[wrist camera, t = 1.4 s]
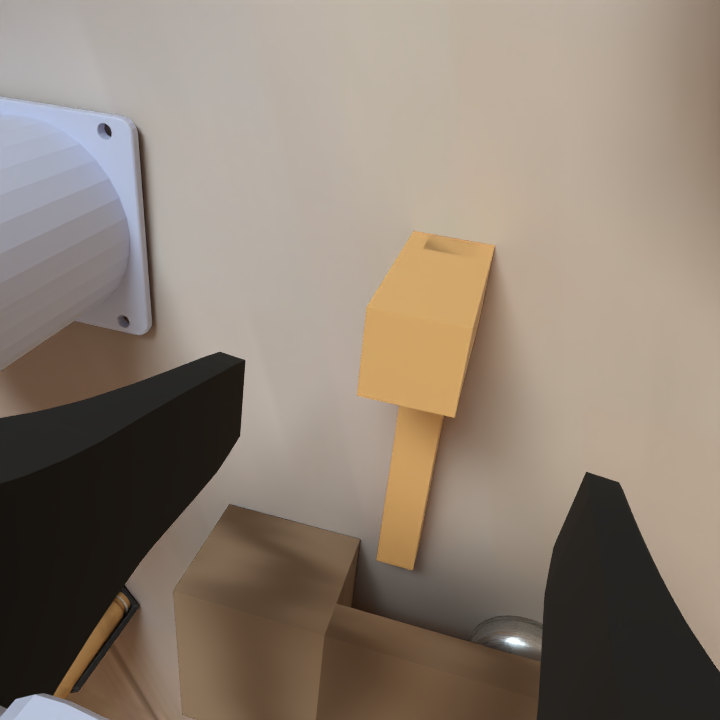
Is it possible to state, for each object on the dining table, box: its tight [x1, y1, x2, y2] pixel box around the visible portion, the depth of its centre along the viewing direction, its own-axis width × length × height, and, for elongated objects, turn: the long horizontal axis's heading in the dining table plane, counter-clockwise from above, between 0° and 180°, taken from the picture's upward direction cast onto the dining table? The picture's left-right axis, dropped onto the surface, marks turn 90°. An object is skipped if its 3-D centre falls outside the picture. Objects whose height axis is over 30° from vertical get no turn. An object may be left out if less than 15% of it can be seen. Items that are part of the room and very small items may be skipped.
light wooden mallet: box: [357, 231, 495, 570], centre depth 22 cm, size 3×13×6 cm, turn 174°
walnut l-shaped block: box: [173, 504, 541, 720], centre depth 28 cm, size 18×8×5 cm, turn 84°
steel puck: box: [471, 616, 543, 662], centre depth 28 cm, size 4×4×2 cm
